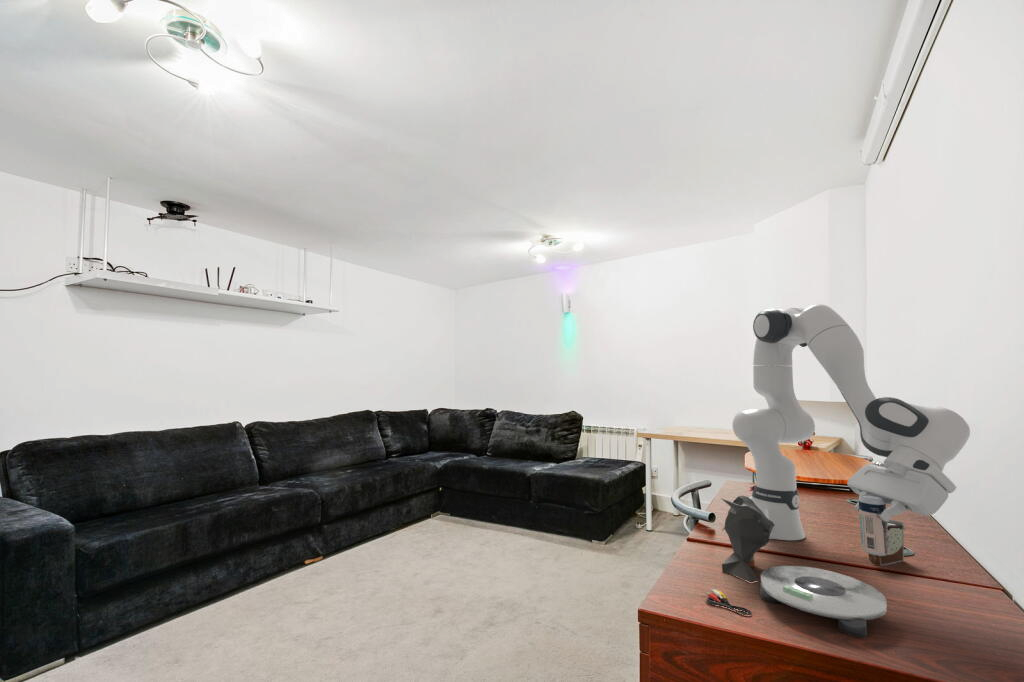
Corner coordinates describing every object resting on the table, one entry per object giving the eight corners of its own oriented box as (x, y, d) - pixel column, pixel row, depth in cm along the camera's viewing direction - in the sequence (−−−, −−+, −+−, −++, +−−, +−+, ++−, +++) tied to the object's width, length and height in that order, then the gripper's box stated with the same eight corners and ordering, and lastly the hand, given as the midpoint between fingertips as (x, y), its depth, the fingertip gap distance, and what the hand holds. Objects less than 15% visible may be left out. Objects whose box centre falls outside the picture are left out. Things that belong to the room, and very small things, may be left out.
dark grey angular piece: (792, 573, 116) (790, 499, 117) (751, 584, 109) (749, 506, 111) (742, 553, 129) (741, 487, 130) (702, 562, 122) (701, 492, 124)
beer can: (894, 557, 99) (890, 500, 100) (869, 556, 100) (865, 499, 101) (881, 549, 104) (877, 494, 105) (857, 548, 105) (853, 494, 106)
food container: (882, 552, 130) (879, 515, 131) (907, 560, 124) (904, 521, 125) (852, 558, 125) (849, 520, 126) (877, 566, 120) (874, 526, 120)
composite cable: (754, 617, 95) (754, 604, 95) (738, 622, 93) (738, 609, 93) (715, 597, 104) (715, 585, 104) (699, 601, 102) (699, 589, 102)
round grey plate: (740, 600, 101) (739, 573, 102) (795, 578, 113) (794, 554, 113) (855, 649, 83) (853, 617, 83) (908, 617, 94) (906, 589, 94)
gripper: (862, 452, 114) (826, 493, 113) (941, 467, 94) (898, 517, 93) (881, 470, 114) (845, 511, 113) (965, 489, 93) (921, 540, 92)
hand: (869, 514), depth 102 cm, fingers closed on beer can, 5 cm apart
